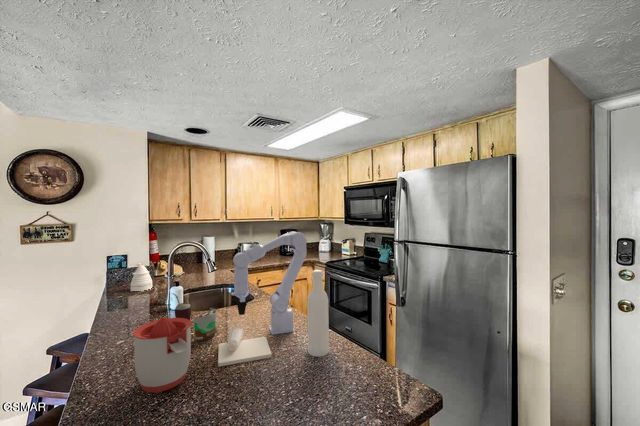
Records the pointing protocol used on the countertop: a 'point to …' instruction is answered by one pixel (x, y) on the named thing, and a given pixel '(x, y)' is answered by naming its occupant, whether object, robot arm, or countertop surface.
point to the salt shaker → (234, 338)
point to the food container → (205, 325)
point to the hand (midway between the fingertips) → (241, 314)
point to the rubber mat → (244, 351)
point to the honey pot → (141, 279)
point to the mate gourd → (182, 310)
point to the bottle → (318, 318)
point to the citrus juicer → (162, 353)
